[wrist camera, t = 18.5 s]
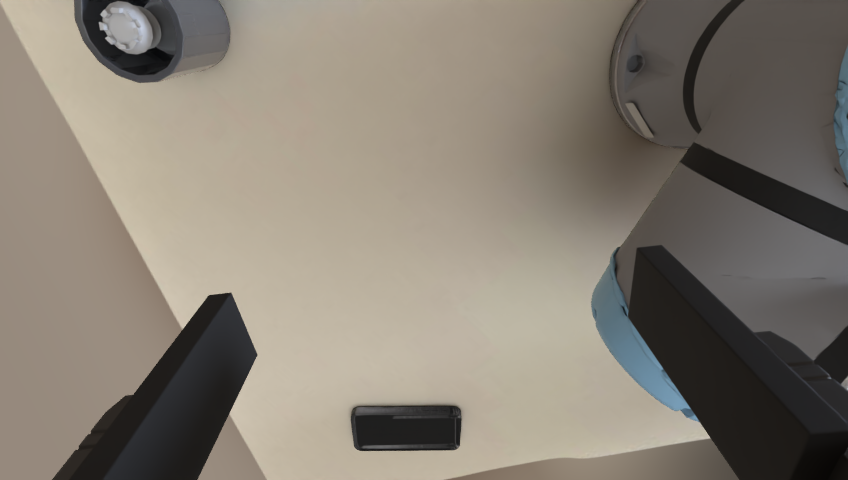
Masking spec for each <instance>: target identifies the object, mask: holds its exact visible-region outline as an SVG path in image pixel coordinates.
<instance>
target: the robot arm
mask: <svg viewBox="0 0 848 480" xmlns="http://www.w3.org/2000/svg"><path fill="white" fill-rule="evenodd" d="M610 90H611V95H612V99H613V102H614V105H615V107H616V110H617V112H618V113H619V115H620V117H621V118H622V119H623V121H624V122H625V123H626V124H627V125H628V126H629V128H631V129H632V130H633V131H634V132H636V133H637V134H639V135H640V136H642V137H644V138H646V139H648V140H650V141H652V142H654V143H656V144H659V145H663V146H667V147H673V148H682V149H688V151H687V152H686V154H685V155H684V157H683V158H682V160H681V161H680V162H679V164H678V165H677V166H676V168H675V169H674V171H673V172H672V174H671V175H670V177H669V178H668V179H667V181H666V182H665V184H664V185H663V187H662V188H661V190H660V191H659V192H658V194H657V195H656V197H655V198H654V200H653V201H652V203H651V204H650V205H649V207H648V208H647V210H646V211H645V213H644V214H643V216H642V217H641V218H640V220H639V221H638V223H637V224H636V226H635V227H634V229H633V230H632V231H631V233H630V234H629V236H628V237H627V239H626V240H625V242H624V243H623V244H622V246H621V247H618V248H617V249H616V250H615V251H614V252H613V254H612V256H611V260H610V264H609V266H608V267H607V269H606V271H605V272H604V274H603V276H602V277H601V279H600V280H599V282H598V284H597V285H596V287H595V289H594V292H593V295H592V301H591V307H592V312H593V317H594V319H595V321H596V327H597V329H598V332H599V334H600V336H601V338H602V340H603V341H604V343H605V345H606V346H607V348H608V349H609V351H610V352H611V353H612V355H613V356H614V357H615V359H616V360H617V361H618V363H619V364H620V365H621V366H622V367H623V368H624V369H625V371H626V372H627V373H628V374H629V375H630V376H631V377H632V378H633V379H634V380H635V381H636V382H637V383H638V384H639V385H640V386H641V387H642V388H644V389H645V390H646V391H647V392H648V393H649V394H651V395H652V396H653V397H654V398H656V399H657V400H658V401H660V402H661V403H663V404H664V405H666V406H667V407H669V408H670V409H672V410H674V411H678V410H681V411H682V412H683V414H684V415H685V416H686V417H687V418H690V419H692V420H695V421H698V422H700V423H701V424H702V426H703V427H704V429H705V430H706V432H707V433H708V435H709V436H710V438H711V439H712V441H713V442H714V443H715V445H716V446H717V448H718V449H719V451H720V452H721V454H722V455H723V457H724V458H725V459H726V461H727V462H728V464H729V465H730V467H731V468H732V470H733V471H734V473H735V474H736V475H737V477H738V478H739V480H848V0H639V1H638V2H637V4H636V5H635V6H634V8H633V9H632V11H631V12H630V14H629V15H628V17H627V19H626V20H625V22H624V24H623V26H622V28H621V30H620V32H619V35H618V37H617V40H616V42H615V46H614V49H613V53H612V58H611V63H610ZM256 357H257V353H256V350H255V348H254V346H253V343H252V341H251V339H250V336H249V334H248V331H247V329H246V327H245V324H244V322H243V319H242V317H241V315H240V312H239V310H238V308H237V305H236V303H235V300H234V298H233V296H232V293H224V294H215V295H209V296H208V297H207V298H206V300H205V301H204V302H203V304H202V305H201V306H200V308H199V309H198V310H197V312H196V313H195V314H194V316H193V317H192V318H191V319H190V321H189V322H188V323H187V325H186V326H185V327H184V329H183V330H182V331H181V333H180V334H179V335H178V337H177V338H176V339H175V341H174V342H173V343H172V345H171V346H170V347H169V348H168V350H167V351H166V352H165V354H164V355H163V357H162V358H161V359H160V360H159V362H158V363H157V364H156V366H155V367H154V368H153V370H152V371H151V372H150V374H149V375H148V376H147V378H146V379H145V380H144V381H143V383H142V384H141V385H140V387H139V388H138V389H137V391H136V392H135V393H134V395H128V396H125V397H123V398H122V399H121V400H120V401H119V402H117V403H116V404H115V405H114V406H113V407H112V408H110V409H109V410H108V411H107V412H106V413H105V414H104V415H103V416H102V418H101V419H100V420H99V422H98V423H97V424H96V425H95V426H94V428H93V429H92V430H91V434H89V435H87V436H86V438H85V439H84V440H83V441H82V443H81V444H80V445H79V449H78V450H75V451H74V453H73V454H72V455H71V457H70V458H69V459H68V460H67V462H66V463H65V464H64V465H63V467H62V468H61V469H60V471H59V472H58V473H57V474H56V475H55V477H54V478H53V479H52V480H197V479H198V477H199V475H200V473H201V471H202V469H203V466H204V465H205V463H206V461H207V459H208V456H209V454H210V452H211V450H212V448H213V446H214V444H215V442H216V440H217V438H218V436H219V433H220V432H221V430H222V427H223V425H224V423H225V421H226V419H227V417H228V415H229V413H230V411H231V409H232V407H233V405H234V403H235V400H236V398H237V396H238V394H239V392H240V390H241V388H242V386H243V384H244V382H245V380H246V378H247V376H248V374H249V371H250V369H251V367H252V365H253V363H254V361H255V359H256Z"/></svg>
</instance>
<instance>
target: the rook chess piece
mask: <svg viewBox="0 0 848 480" xmlns="http://www.w3.org/2000/svg"><path fill="white" fill-rule="evenodd" d="M100 15H101V16H102V17H103V18H102V21H103V22H99V27H100V30H105V32H106V34H107V37H106V38H105V39H106V40H107V41H108V42H109V43H110V44H111V45H112V44H114V45H115V46H116V47H117V48H119V49H121V50H122V51H124V52H126V53H129V54H140V53H144V52H146V51H147V49H151V48H155V47H157V48H158V49H160V50H162V51H164V52H166V53H168V54H171V55H175V53H176V41H177V34H176V31H175V27H174V24H173V20H172V17H171V15H170V13H169V12H168V10H167V9H166V7H165V6H164V4H163V3H162V1H161V0H150V1H149V2H148V3H147V4H146V5H145V6H144V8H143V7H141V6H134V5H132V4H130V3H128V2H122V1H116V2H113V3H110V4H109V5H108V6H107V7H106V9H104V10H103V12H102V13H101V14H100Z"/></svg>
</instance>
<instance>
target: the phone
mask: <svg viewBox="0 0 848 480" xmlns="http://www.w3.org/2000/svg"><path fill="white" fill-rule="evenodd" d="M351 424H352V433H353V441H354V447H355V448H356V449H357V450H360V451H418V450H455V449H457V448H458V447H459V446H460V433H461V411H460V409H459V408H457V407H453V406H444V407H357V408H355V409H353V411H352V416H351Z"/></svg>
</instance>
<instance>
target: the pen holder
mask: <svg viewBox="0 0 848 480" xmlns="http://www.w3.org/2000/svg"><path fill="white" fill-rule="evenodd" d="M116 1H122V2H128V3H130V4H132V5H134V6H141V7H143V8H144V6H145V5H146V4H147V3H148V2H149V1H150V0H74V7H75V21H76V23H77V26H78V28H79V31H80V34H81V36H82V39H83V41H84V43H85V44H86V45H87V47H88V48H89V49H90V51H91V52H92V53H93V54H94V56H95V57H96V58H97V60H98V61H99V62H100V63H102V64H103V65H104V66H106V67H107V68H108V69H110V70H111V71H112V72H114V73H115V74H117V75H118V76H121V77H123V78H126V79H129V80H132V81H135V82H139V83H146V82H159V81H163V80H167V79H171V78H175V77H179V76H183V75H187V74H191V73H195V72H199V71H203V70H206V69H208V68H210V67H213V66H214V65H216V64H217V63H219V62H220V61H221V60H222V58H223V57H224V56H225V54H226V52H227V49H228V46H229V42H230V29H229V23H228V20H227V17H226V14H225V12H224V10H223V8H222V6H221V5H220V3H219V2H218V0H161V1H162V3H163V4H164V6H165V7H166V9H167V10H168V12H169V13H170V15H171V17H172V20H173V24H174V27H175V31H176V34H177V41H176V53H175V55H171V54H168V53H166V52H164V51H162V50H160V49H158V48H157V47H155V48H151V49H147V51H146V52H144V53H140V54H129V53H126V52H124V51H122V50H121V49H119V48H117V47H116V46H115V45H114V44H112V45H111V44H110V43H109V42H108V41H107V40H106V39H105V38H106V37H107V34H106V32H105V30H100V27H99V22H103V21H102V18H103V17H102V16H101V15H100V14H101V13H102V12H103V10H104V9H106V7H107V6H108V5H109V4H110V3H113V2H116Z"/></svg>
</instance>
